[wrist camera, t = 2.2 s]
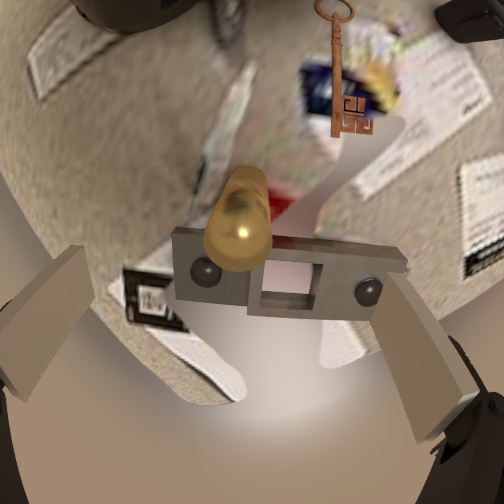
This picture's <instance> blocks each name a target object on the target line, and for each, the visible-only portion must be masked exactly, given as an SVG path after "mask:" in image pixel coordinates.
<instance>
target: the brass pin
mask: <svg viewBox="0 0 504 504" xmlns="http://www.w3.org/2000/svg"><path fill="white" fill-rule="evenodd" d="M272 242H273V240H272V230H271V219H270V209H269V199H268V189H267V180H266V177H265V175H264V173H263V172H262V171H261V170H260V169H258V168H257V167H254V166H250V165H246V166H241V167H239V168H237V169H236V170H234V171H233V173H232V174H231V176H230V178H229V180H228V182H227V184H226V186H225V188H224V190H223V192H222V194H221V196H220V198H219V200H218V202H217V205H216V207H215V209H214V211H213V213H212V215H211V217H210V219H209V222H208V224H207V226H206V228H205V231H204V235H203V244H204V248H205V251H206V253H207V255H208V256H209V258H210V259H211V260H212V261H213V262H214V263H215V264H216V265H218V266H219V267H221V268H223V269H225V270H228V271H233V272H245V271H249V270H253V269H255V268H257V267H258V266H260V265H261V264H262V263H263V262H264V261H265V260H266V259H267V258H268V256H269V254H270V252H271V249H272Z"/></svg>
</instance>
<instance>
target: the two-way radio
mask: <svg viewBox="0 0 504 504" xmlns="http://www.w3.org/2000/svg"><path fill="white" fill-rule="evenodd" d="M436 13H437V18H438V21H439V22H440V24H441V25H442V26H443V27H444V28H445V29H446V31H447V32H448V33H449V34H450V35H451V36H452V37H453V38H454V39H455V40H456V41H457V42H459V43H471V42H481V41H489V40H498V39H504V0H451V1H449V2H447V3H446V4H444V5H442V6H440V7H438V8H437V10H436Z"/></svg>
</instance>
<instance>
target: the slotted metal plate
mask: <svg viewBox="0 0 504 504" xmlns="http://www.w3.org/2000/svg"><path fill="white" fill-rule="evenodd" d="M204 231H205V229H191V228H178V227H176V228H175V229H174V231H173V232H172V246H173V265H174V280H175V293H176V299H178V300H187V301H196V302H205V303H215V304H226V305H237V306H247V315H254V316H265V317H280V318H281V317H282V318H299V319H320V320H355V321H371V318H372V316H373V313H374V311H375V308H376V305H377V303H378V300H379V297H380V294H381V291H382V289H383V286H384V283H385V280H386V277H387V274H388V272H394V273H403V274H404V271H405V268H406V265H407V262H408V260H407V258H406V257H405V256H404V255H403V254H402V253H401V252H400V250H399V249H398V248H397V247H388V246H378V245H369V244H360V243H350V242H340V241H330V240H320V239H309V238H299V237H287V236H276V235H272V240H273V242H272V249H271V252H270V254H269V256H268V258H267V259H268V260H280V261H292V262H304V263H315V268H314V272H313V277H312V281H311V286H310V290H309V294H299V293H284V292H271V291H261V290H262V281H263V273H264V264H265V261H264V262H263V263H262V264H261V265H260V266H258V267H257V268H255V269H253V270H249V271H245V272H233V271H228V270H225V269H223V268H221V267H219V266H218V265H216V264H215V263H214V262H213V261H212V260H211V259H210V258H209V256H208V255H207V253H206V251H205V248H204V244H203V235H204Z"/></svg>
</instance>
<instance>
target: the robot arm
mask: <svg viewBox="0 0 504 504" xmlns="http://www.w3.org/2000/svg"><path fill="white" fill-rule="evenodd" d="M70 1H71V2H72V4H73V5H74V6H75V7H76V9H77V11H78V13H79V14H80V16H81V17H82V18H83V19H84V20H85V21H87V22H88V23H89V24H91V25H93V26H96V27H98V28H100V29H103V30H105V31H108V32H113V33H133V32H139V31H144V30H148V29H151V28H154V27H157V26H159V25H162V24H164V23H166V22H168V21H170V20H172V19H174V18H176V17H178V16H179V15H181V14H183V13H184V12H186V11H187V10H188V9H190V8H191V7H192V6H194V5H195V4H196V3H197V2H198V1H199V0H70ZM94 299H95V295H94V291H93V287H92V282H91V278H90V273H89V269H88V264H87V259H86V253H85V248H84V246H77V245H71V246H69V247H68V248H67V249H66V250H65V251H64V252H62V253H61V254H60V255H59V256H58V257H57V258H56V259H54V260H53V261H52V262H51V263H50V264H49V265H48V266H47V267H46V268H44V269H43V270H42V271H41V272H40V273H39V274H38V275H37V276H36V277H35V278H34V279H33V280H32V281H31V282H30V283H28V284H27V285H26V286H25V287H24V288H23V289H22V290H21V291H20V292H19V293H18V294H17V296H15V297H14V298H13V299H12V300H10V301H9V302H7V303H6V304H5V305H4V306H3V307H2V308H1V310H0V504H29V502H28V499H27V496H26V493H25V490H24V487H23V484H22V481H21V477H20V474H19V470H18V466H17V462H16V458H15V453H14V449H13V445H12V440H11V433H10V427H9V421H8V413H7V405H6V397H5V393H4V392H3V390H2V389H3V388H4V386H6V387H7V388H8V390H9V391H10V392H11V394H12V395H13V396H15V397H16V398H18V399H20V400H22V401H24V402H27V400H28V398H29V396H30V395H31V393H32V391H33V389H34V388H35V386H36V384H37V383H38V381H39V379H40V378H41V376H42V374H43V373H44V371H45V370H46V368H47V366H48V365H49V363H50V362H51V360H52V358H53V357H54V356H55V354H56V353H57V351H58V349H59V348H60V347H61V345H62V343H63V342H64V341H65V339H66V338H67V336H68V335H69V333H70V332H71V330H72V329H73V328H74V326H75V325H76V323H77V322H78V320H79V319H80V318H81V316H82V315H83V314H84V312H85V311H86V309H87V308H88V307H89V305H90V304H91V303H92V301H93V300H94ZM370 324H371V326H372V329H373V331H374V333H375V335H376V338H377V340H378V342H379V345H380V347H381V349H382V352H383V354H384V357H385V359H386V361H387V364H388V366H389V369H390V371H391V374H392V376H393V379H394V381H395V384H396V387H397V389H398V392H399V394H400V397H401V400H402V403H403V405H404V408H405V411H406V414H407V417H408V419H409V422H410V425H411V428H412V431H413V434H414V437H415V440H416V443H417V445H418V444H422V443H425V442H429V441H432V440H435V438H437V437H438V436H439V435H440V434H441V433H442V432H443V431H444V433H445V435H446V437H445V438H444V439H443V440H442V441H441V442H440V443H439V444H438V445H436V446H435V447H434V448H433V449H432V450H431V452H430V454H433V453H434V452H435V451H436V450H438V449H439V450H438V453H437V454H436V455H435V456H436V459H435V461H434V463H433V466H432V469H431V471H430V473H429V476H428V478H427V480H426V482H425V484H424V487H423V489H422V491H421V493H420V495H419V497H418V499H417V501H416V503H415V504H504V397H503V396H502V395H501V394H499V393H496V392H488V391H487V389H486V387H485V386H484V384H483V382H482V380H481V379H480V377H479V375H478V373H477V372H476V370H475V369H474V367H473V365H472V364H470V360H469V359H468V357H467V356H465V352H464V351H463V349H462V348H461V346H460V344H459V343H458V342H457V341H455V340H454V339H453V338H452V337H451V336H447V335H446V333H445V332H444V330H443V329H442V327H441V326H440V324H439V323H438V321H437V320H436V318H435V317H434V315H433V314H432V312H431V311H430V310H429V308H428V307H427V305H426V304H425V302H424V301H423V300H422V298H421V297H420V296H419V294H418V293H417V291H416V290H415V289H414V287H413V286H412V285H411V283H410V282H409V281H408V279H407V278H406V277H405V276H404V274H403V273H394V272H388V274H387V277H386V280H385V283H384V286H383V289H382V291H381V294H380V297H379V300H378V303H377V305H376V308H375V311H374V313H373V316H372V318H371V321H370Z"/></svg>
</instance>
